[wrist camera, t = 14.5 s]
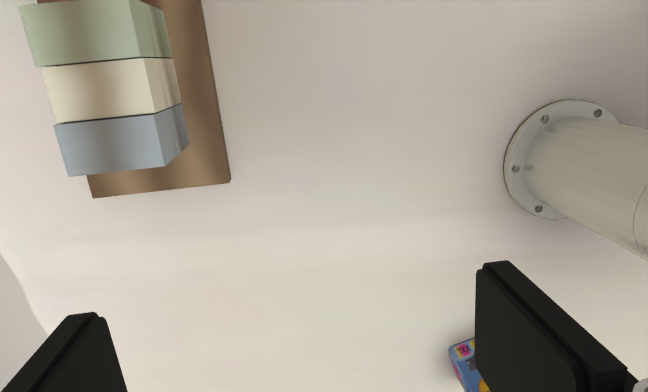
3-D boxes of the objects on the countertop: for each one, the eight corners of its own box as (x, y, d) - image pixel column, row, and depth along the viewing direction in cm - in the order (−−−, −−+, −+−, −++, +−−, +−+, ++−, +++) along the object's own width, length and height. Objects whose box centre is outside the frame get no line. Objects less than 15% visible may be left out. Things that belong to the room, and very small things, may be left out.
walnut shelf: (183, -100, 35) (144, -161, 25) (231, 178, 42) (214, 212, 33) (22, -87, 34) (-82, -145, 24) (99, 193, 41) (43, 232, 32)
